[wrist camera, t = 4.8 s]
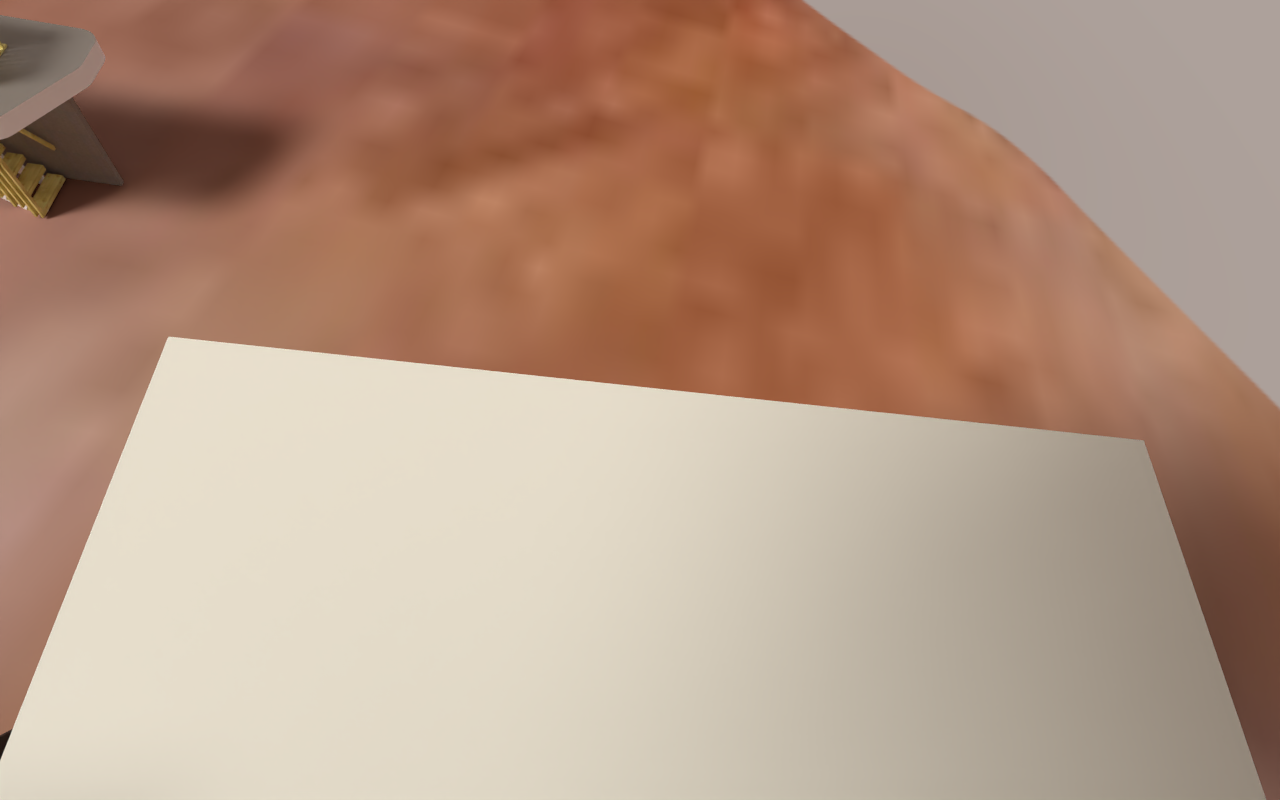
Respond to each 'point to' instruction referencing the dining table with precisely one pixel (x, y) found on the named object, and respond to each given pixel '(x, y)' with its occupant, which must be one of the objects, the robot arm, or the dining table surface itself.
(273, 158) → the dining table surface
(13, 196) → the platform
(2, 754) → the robot arm
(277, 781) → the stub
